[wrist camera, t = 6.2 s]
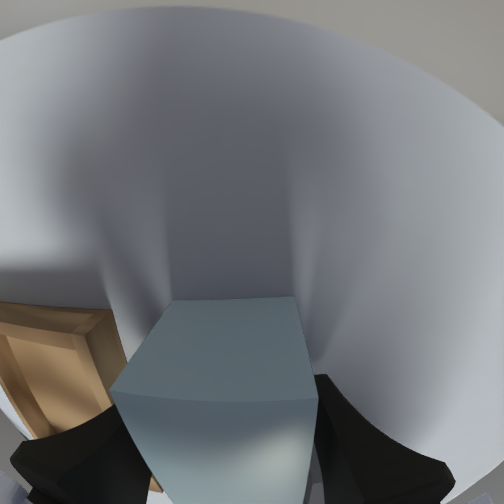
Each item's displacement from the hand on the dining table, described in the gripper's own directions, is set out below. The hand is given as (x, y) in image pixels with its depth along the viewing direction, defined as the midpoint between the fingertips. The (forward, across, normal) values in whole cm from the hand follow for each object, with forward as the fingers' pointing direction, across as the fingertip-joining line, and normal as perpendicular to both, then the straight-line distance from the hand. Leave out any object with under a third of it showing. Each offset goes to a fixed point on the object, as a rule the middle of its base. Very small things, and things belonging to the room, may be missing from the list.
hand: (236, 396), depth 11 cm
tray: (+2, +11, +3) cm, 12 cm away
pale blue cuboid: (+2, 0, 0) cm, 2 cm away
